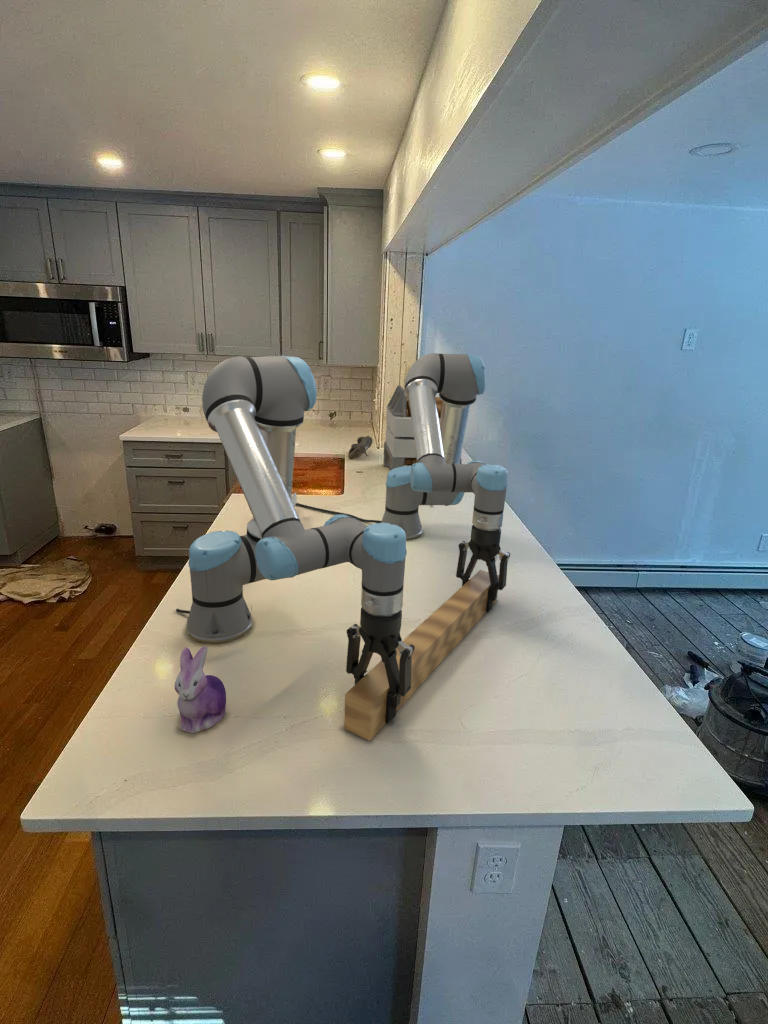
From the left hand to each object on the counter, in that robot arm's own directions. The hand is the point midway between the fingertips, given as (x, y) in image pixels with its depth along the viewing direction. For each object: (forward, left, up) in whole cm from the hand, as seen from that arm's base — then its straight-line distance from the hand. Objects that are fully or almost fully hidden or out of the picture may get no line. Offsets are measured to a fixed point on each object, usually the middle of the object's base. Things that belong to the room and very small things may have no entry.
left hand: (376, 712), depth 111 cm
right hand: (-5, +51, 0) cm, 51 cm away
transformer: (-91, +150, -1) cm, 175 cm away
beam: (-3, +26, -1) cm, 26 cm away
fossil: (-133, +155, -1) cm, 204 cm away
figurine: (-24, -22, -1) cm, 33 cm away
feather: (-67, +123, -1) cm, 140 cm away
